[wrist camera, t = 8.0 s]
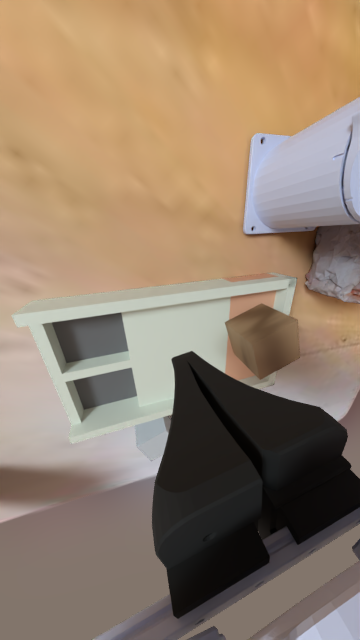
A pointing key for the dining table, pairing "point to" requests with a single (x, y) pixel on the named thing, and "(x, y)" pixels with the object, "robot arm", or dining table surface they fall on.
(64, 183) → the dining table surface
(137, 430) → the grey block
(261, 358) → the walnut block
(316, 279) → the grey-brown rough block
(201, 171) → the dining table surface
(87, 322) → the tray
